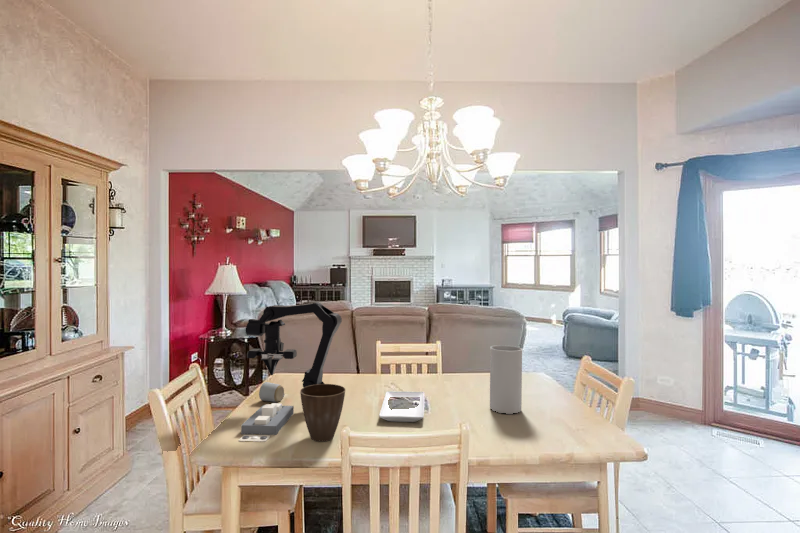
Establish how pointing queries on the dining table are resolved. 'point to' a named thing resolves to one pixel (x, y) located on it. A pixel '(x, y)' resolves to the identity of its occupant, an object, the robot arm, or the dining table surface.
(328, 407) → the plant pot
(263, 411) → the button middle
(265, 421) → the button
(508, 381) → the cylinder vase
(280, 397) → the ceramic mug
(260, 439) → the pattern card
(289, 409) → the button board
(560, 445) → the dining table surface
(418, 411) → the tray
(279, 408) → the button
